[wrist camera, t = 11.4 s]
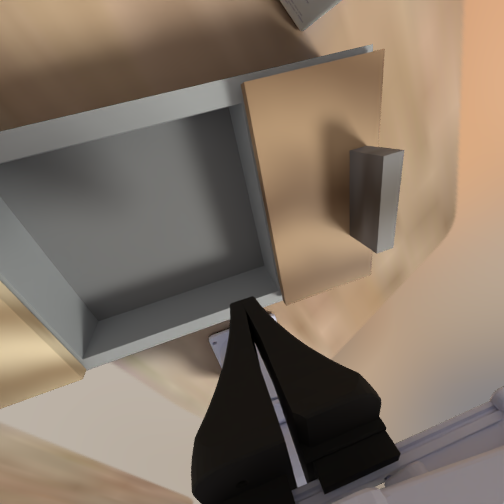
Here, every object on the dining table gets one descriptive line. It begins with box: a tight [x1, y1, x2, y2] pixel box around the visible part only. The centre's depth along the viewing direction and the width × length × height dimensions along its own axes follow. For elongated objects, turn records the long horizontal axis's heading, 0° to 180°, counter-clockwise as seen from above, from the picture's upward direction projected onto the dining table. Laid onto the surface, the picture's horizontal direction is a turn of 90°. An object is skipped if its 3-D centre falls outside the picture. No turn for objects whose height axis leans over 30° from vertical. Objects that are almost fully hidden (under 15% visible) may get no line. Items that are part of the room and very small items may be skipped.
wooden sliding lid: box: [241, 49, 404, 305], centre depth 15 cm, size 15×8×4 cm, turn 13°
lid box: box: [0, 44, 373, 371], centre depth 18 cm, size 16×32×5 cm, turn 103°
